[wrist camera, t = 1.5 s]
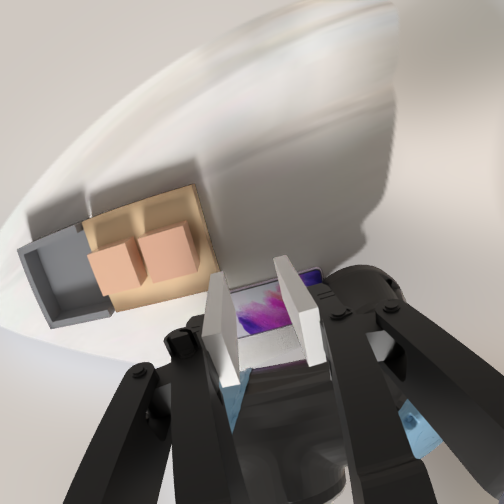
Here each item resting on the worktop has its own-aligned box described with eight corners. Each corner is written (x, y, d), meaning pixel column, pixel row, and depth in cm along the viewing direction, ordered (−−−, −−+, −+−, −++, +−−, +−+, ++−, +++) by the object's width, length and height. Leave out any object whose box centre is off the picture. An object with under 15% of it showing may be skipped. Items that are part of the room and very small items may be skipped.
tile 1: (147, 276, 33) (140, 286, 30) (112, 285, 33) (103, 296, 30) (133, 236, 31) (124, 243, 28) (97, 247, 31) (86, 255, 28)
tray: (120, 302, 36) (110, 316, 33) (62, 316, 36) (50, 329, 33) (89, 218, 33) (74, 224, 29) (32, 241, 33) (16, 249, 29)
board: (221, 277, 36) (221, 287, 34) (123, 302, 36) (116, 312, 34) (194, 183, 33) (191, 185, 30) (92, 217, 33) (81, 221, 30)
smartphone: (207, 297, 37) (321, 266, 37) (207, 294, 38) (319, 264, 38) (223, 343, 39) (329, 314, 39) (223, 340, 40) (328, 311, 40)
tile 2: (200, 262, 33) (197, 272, 30) (159, 273, 33) (153, 283, 30) (186, 220, 31) (182, 225, 28) (145, 232, 31) (137, 239, 28)
